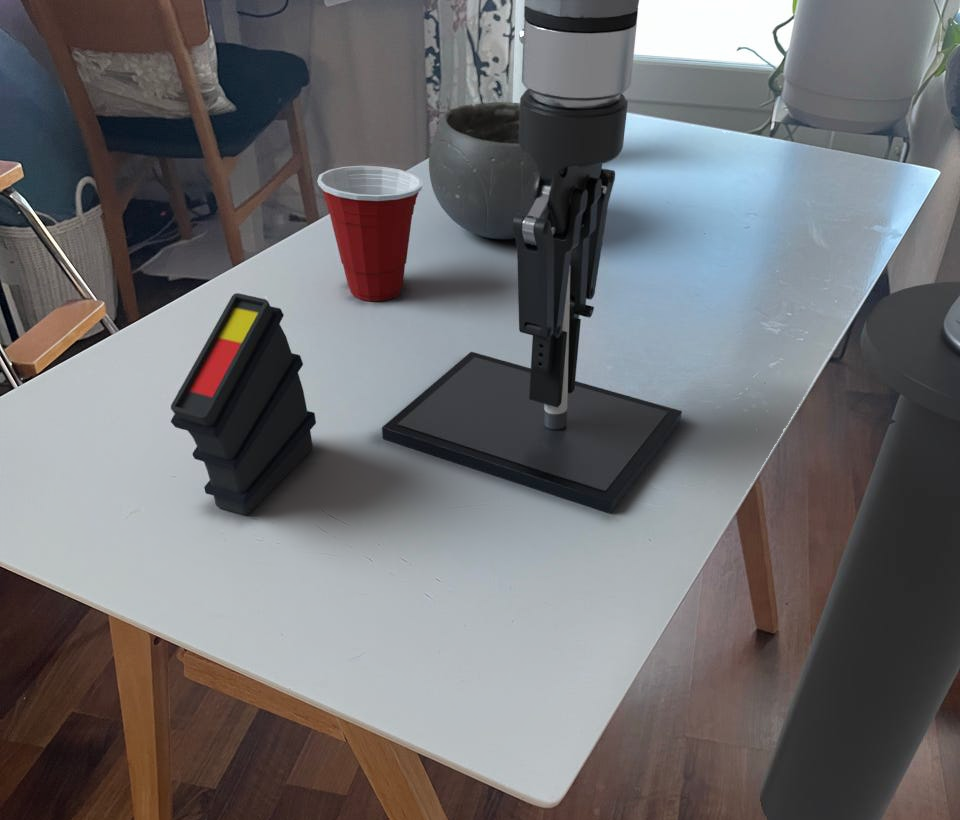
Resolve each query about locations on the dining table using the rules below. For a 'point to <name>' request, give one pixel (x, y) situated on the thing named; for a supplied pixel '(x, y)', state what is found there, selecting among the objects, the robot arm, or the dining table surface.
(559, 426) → the stylus
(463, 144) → the bowl
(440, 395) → the tablet
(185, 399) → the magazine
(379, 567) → the dining table surface
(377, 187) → the plastic cup
